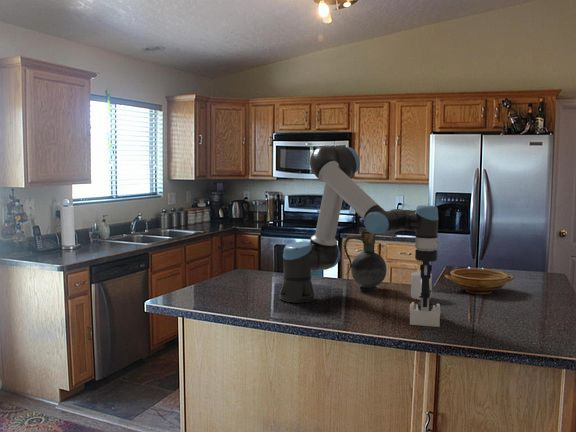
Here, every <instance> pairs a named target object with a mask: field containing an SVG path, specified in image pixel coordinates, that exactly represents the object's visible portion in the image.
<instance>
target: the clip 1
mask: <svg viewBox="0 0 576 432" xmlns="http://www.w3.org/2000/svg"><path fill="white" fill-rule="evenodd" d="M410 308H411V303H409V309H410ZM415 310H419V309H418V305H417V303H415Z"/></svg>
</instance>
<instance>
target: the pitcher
mask: <svg viewBox="0 0 576 432" xmlns="http://www.w3.org/2000/svg"><path fill="white" fill-rule="evenodd" d="M362 226H363V228H362V227H360V228H358V229H359V230H358V231H359V232H361V234H360V235H359V236H358V235H355V234H354V235H353V234H352V235H348V236H346V238H345V239H344V241H343V249H344V252H345V255H346V257H347V259H348V261H349V268H348V270H347V271H346V274H345V276H347V275H348V274H349V272H350V271H351V275H352V279H353V280H354V282H355V283H357V284H358V285H360V287H359V290H361V291H362V292H363V291H364V292H376V291H378V287H377V286H378V285H380V284H382V282H383V281H384V280H385V278H386V275H387V269H388V268H387V263H386V261H385V259H384V258H383V256H382V255H380V254H378V253H376V251H375V244H376V235H377V234H373V233H370V232H368V231H367V230H366V227H365V225H364V224H363V225H362ZM353 239H354V240H358V241H361V242H362V243H363V245H362V246H363V249H362V250H363V252H361V253H359V254H357V255H355V257H354V258H353V259H352V260H351V257H350V254H349V253H348V249H347V243H348V242H349V241H350V240H353Z"/></svg>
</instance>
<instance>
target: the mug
mask: <svg viewBox="0 0 576 432" xmlns="http://www.w3.org/2000/svg"><path fill="white" fill-rule="evenodd" d="M410 275H411V277H410V278H411V281H410V297H411V298H412V300H416V299H417V300H418V301H421V298H419V296H421V294H420V293H421V287H422V278H421V271H414V272H411V274H410ZM432 279H433V274H432V273H431V278H430V279H429V285H430V290H431V291H432ZM430 294H431V295H430V299H432V292H431V293H430Z"/></svg>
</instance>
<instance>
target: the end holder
mask: <svg viewBox="0 0 576 432" xmlns="http://www.w3.org/2000/svg"><path fill="white" fill-rule="evenodd" d="M410 304H411V308H410V307H409V325H410V326H423V327H435V328H436V327H437V328H440V325H441V324H440V323H441V320H440V319H441V312H440V307H441V306H440V305H441V304H440V303H436V308H437V312H434V311H420V310H416V309H415V301H412V302H411V303H410Z"/></svg>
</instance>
